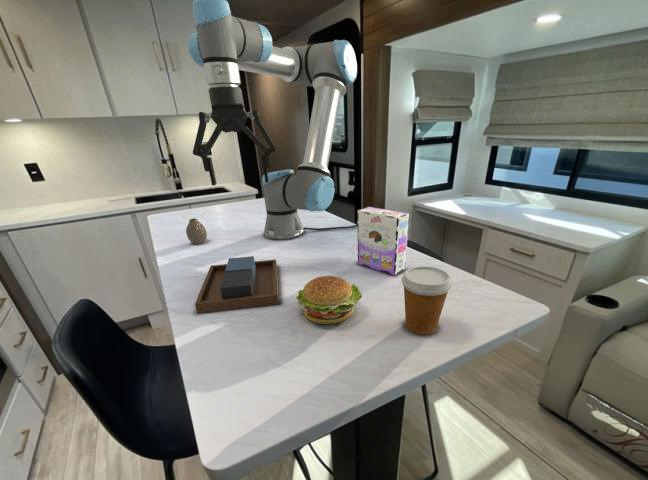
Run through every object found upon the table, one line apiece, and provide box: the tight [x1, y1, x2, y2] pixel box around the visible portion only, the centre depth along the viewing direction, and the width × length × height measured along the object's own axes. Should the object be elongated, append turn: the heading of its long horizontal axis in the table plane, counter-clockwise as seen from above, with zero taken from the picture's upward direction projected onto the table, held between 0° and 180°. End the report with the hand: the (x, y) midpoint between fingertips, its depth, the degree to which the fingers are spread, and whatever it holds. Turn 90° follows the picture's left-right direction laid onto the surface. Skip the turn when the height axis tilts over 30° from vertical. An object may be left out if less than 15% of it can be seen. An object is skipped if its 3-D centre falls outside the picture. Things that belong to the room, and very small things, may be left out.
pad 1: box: [225, 255, 256, 281], centre depth 89 cm, size 7×9×4 cm
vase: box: [185, 217, 208, 245], centre depth 117 cm, size 7×7×9 cm
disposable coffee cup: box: [401, 265, 453, 336], centre depth 65 cm, size 10×10×12 cm
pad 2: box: [220, 270, 255, 299], centre depth 80 cm, size 7×9×4 cm
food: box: [295, 275, 363, 325], centre depth 72 cm, size 14×14×8 cm
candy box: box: [356, 206, 410, 276], centre depth 91 cm, size 14×6×16 cm, turn 47°
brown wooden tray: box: [194, 259, 280, 314], centre depth 85 cm, size 19×23×2 cm
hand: (241, 183), depth 85 cm, fingers open, 13 cm apart
